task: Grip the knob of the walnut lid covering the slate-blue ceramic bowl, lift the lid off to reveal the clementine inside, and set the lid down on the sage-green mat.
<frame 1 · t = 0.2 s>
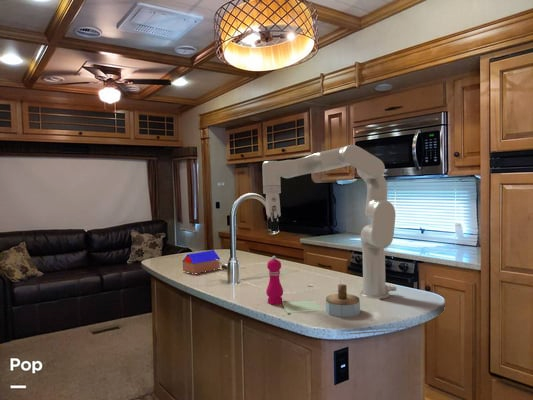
hand: (272, 230, 166), 31 cm above the countertop, tool pointing down, fingers open, 9 cm apart
pepper mill: (275, 302, 166), on the countertop
house: (201, 271, 238), on the countertop
mat: (301, 307, 158), on the countertop
clementine: (342, 311, 149), point 1 cm above the countertop, touching bowl
bowl: (342, 313, 149), on the countertop
lid: (342, 300, 149), point 5 cm above the countertop, touching bowl
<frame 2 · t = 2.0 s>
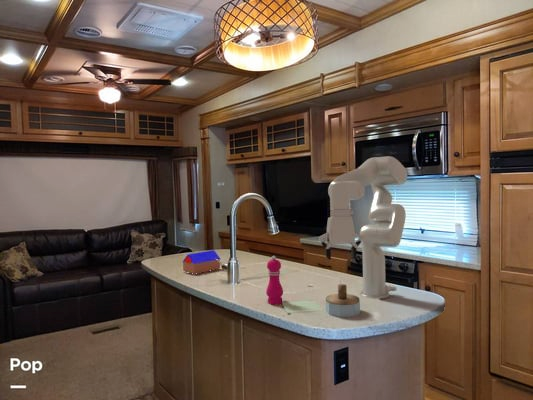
hand: (341, 258, 149), 21 cm above the countertop, tool pointing down, fingers open, 9 cm apart
nothing on the countertop moved.
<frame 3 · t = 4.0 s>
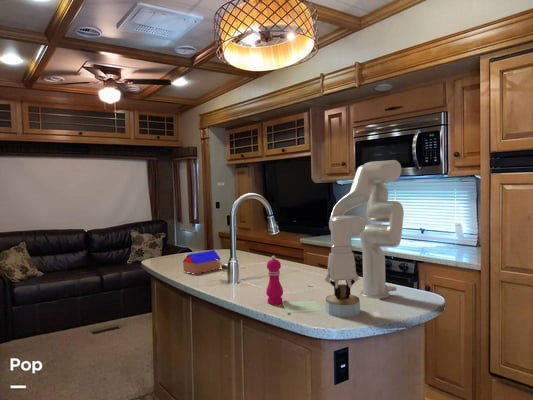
hand: (342, 297, 149), 6 cm above the countertop, tool pointing down, fingers closed on lid, 3 cm apart
lid: (342, 300, 149), point 5 cm above the countertop, touching bowl, gripper
everything else where it was.
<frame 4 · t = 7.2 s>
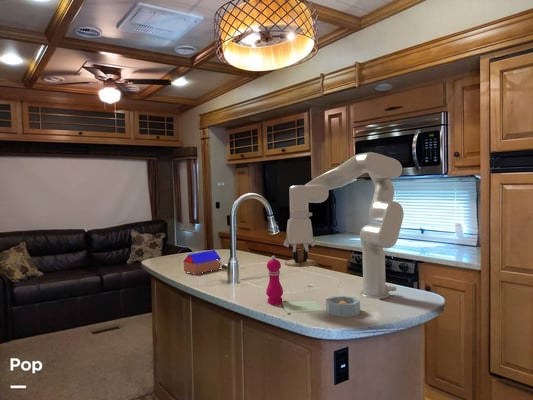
hand: (300, 260, 157), 19 cm above the countertop, tool pointing down, fingers closed on lid, 3 cm apart
lid: (300, 263, 157), point 18 cm above the countertop, touching gripper
everything else where it was.
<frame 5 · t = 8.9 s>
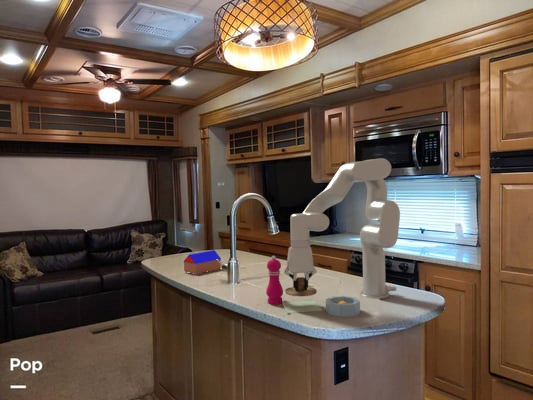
hand: (300, 289, 157), 8 cm above the countertop, tool pointing down, fingers closed on lid, 3 cm apart
lid: (300, 292, 157), point 6 cm above the countertop, touching gripper
everything else where it was.
when the fingers open (3 cm above the countertop, at t = 10.6 s): lid drops 1 cm, resting on mat.
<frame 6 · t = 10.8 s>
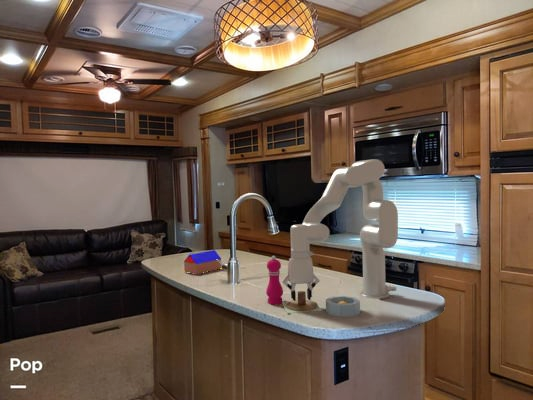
hand: (301, 299, 158), 3 cm above the countertop, tool pointing down, fingers open, 5 cm apart
lid: (301, 306, 158), point 1 cm above the countertop, touching mat
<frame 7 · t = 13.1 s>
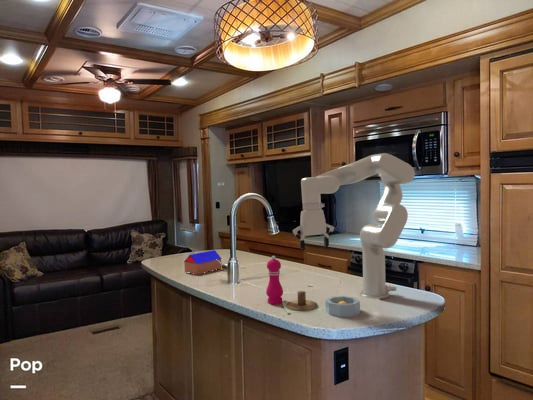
hand: (314, 248, 160), 23 cm above the countertop, tool pointing down, fingers open, 9 cm apart
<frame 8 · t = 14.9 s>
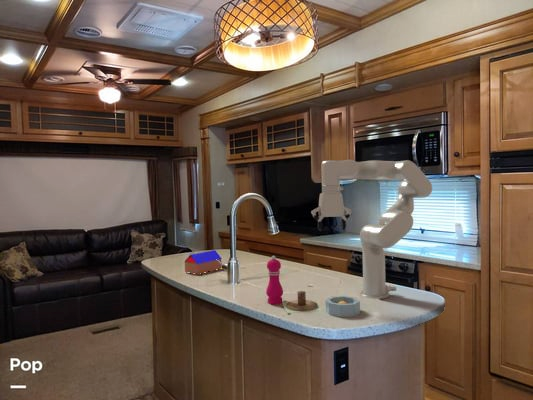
hand: (331, 230, 165), 30 cm above the countertop, tool pointing down, fingers open, 9 cm apart
at the end: lid inside the target area on the mat (0.1 cm from its centre), point 0.6 cm above the mat's base; lid touching mat; lid tilted 0° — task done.
